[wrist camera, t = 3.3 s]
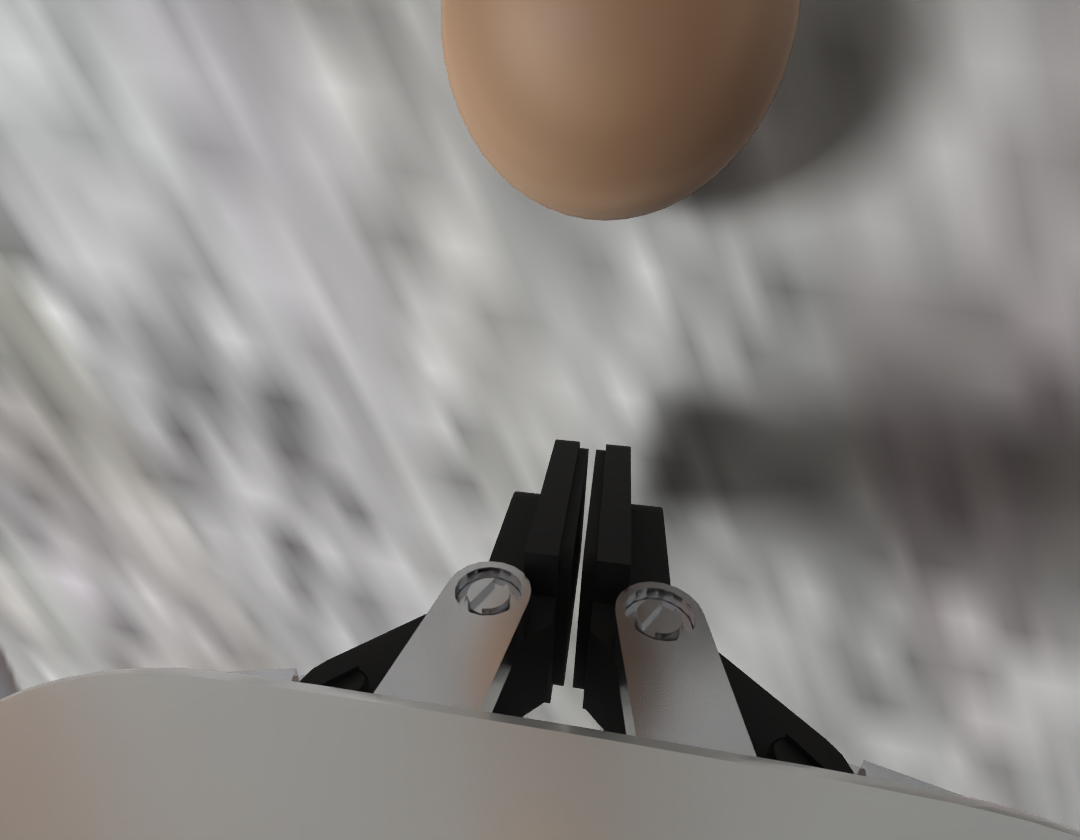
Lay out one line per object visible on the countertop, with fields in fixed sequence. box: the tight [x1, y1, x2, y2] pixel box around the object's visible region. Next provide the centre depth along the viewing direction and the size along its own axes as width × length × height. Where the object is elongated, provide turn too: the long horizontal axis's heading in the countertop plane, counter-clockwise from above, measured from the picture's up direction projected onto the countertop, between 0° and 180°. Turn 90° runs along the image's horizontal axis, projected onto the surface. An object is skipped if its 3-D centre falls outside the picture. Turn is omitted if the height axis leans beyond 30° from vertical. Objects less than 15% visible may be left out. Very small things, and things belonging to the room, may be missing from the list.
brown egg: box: [441, 0, 800, 220], centre depth 9 cm, size 6×6×6 cm
